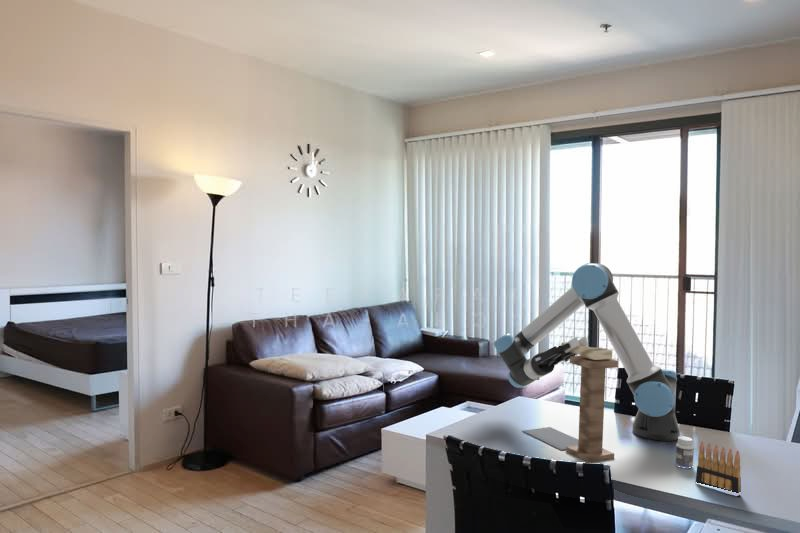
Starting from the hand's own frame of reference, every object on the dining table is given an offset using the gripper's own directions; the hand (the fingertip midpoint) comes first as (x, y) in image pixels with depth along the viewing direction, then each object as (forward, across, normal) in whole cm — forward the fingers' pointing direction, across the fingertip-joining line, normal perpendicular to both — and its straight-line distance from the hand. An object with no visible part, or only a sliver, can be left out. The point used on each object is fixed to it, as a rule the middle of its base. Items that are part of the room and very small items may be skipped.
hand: (581, 341), depth 180 cm
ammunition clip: (+15, -14, -49) cm, 53 cm away
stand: (-13, 0, -33) cm, 35 cm away
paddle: (-1, 0, -4) cm, 4 cm away
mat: (-27, 0, -24) cm, 36 cm away
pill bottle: (+2, -20, -42) cm, 46 cm away
